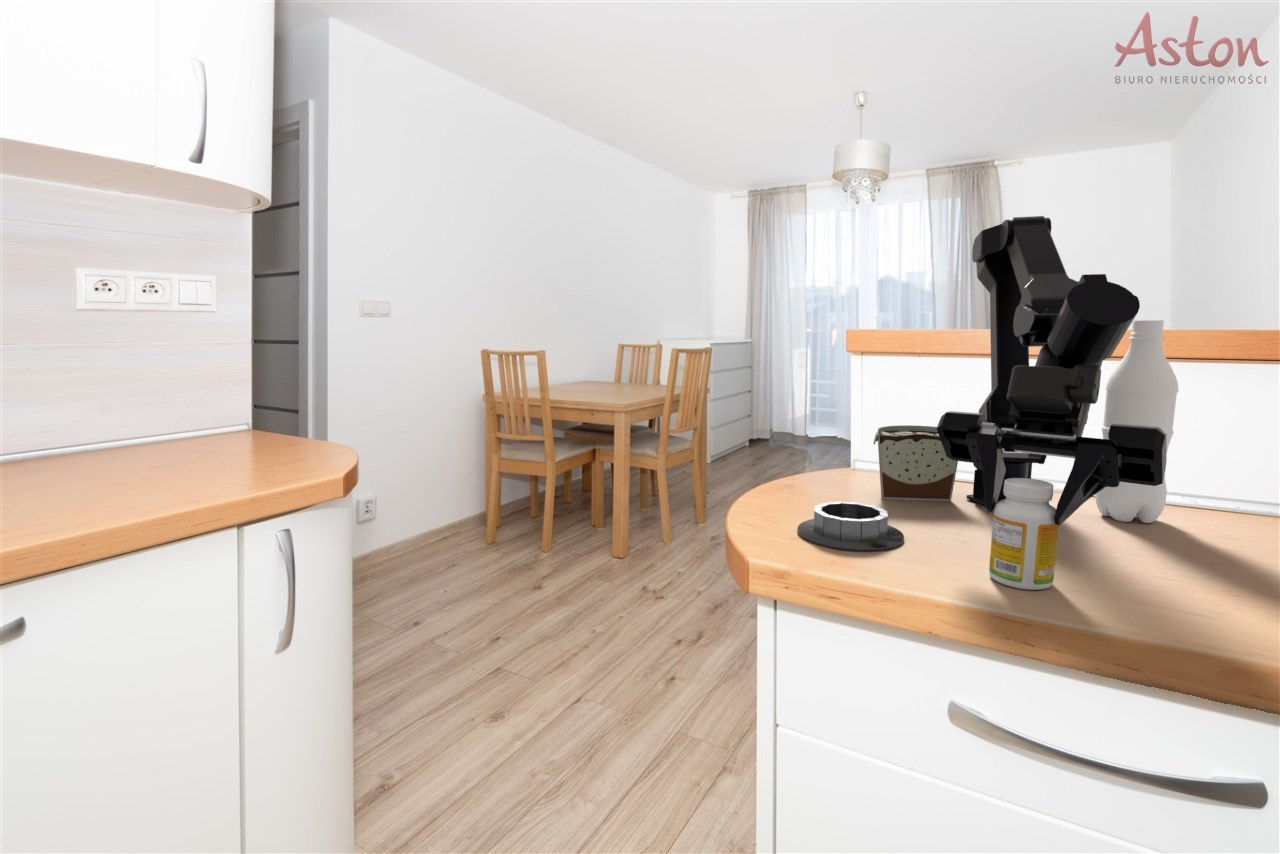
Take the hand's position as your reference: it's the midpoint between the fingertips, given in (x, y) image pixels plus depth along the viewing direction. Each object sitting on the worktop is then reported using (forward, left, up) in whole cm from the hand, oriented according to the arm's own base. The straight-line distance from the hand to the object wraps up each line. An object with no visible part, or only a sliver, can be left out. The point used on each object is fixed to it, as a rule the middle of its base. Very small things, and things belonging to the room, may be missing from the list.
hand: (1021, 516), depth 60 cm
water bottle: (-31, -15, -7) cm, 35 cm away
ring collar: (+7, -18, -7) cm, 20 cm away
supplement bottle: (-1, -1, -7) cm, 7 cm away
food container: (-12, -32, -7) cm, 35 cm away
